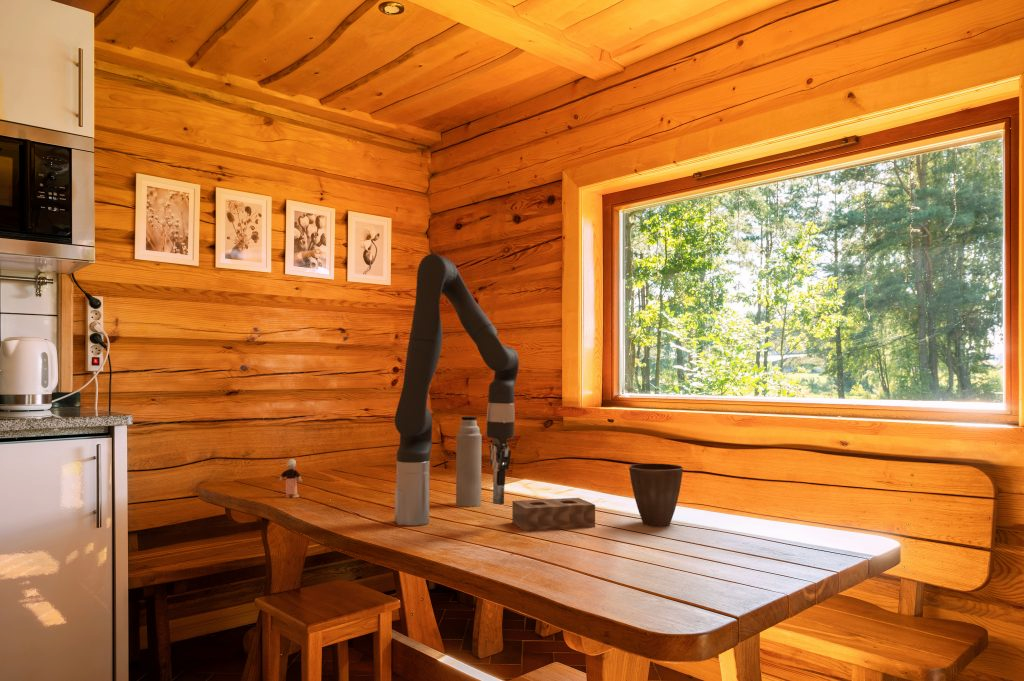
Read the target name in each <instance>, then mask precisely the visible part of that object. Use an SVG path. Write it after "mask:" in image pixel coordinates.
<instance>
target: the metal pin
mask: <svg viewBox="0 0 1024 681" xmlns="http://www.w3.org/2000/svg"><path fill="white" fill-rule="evenodd" d="M498 459H500V458H498ZM502 465H504V463H502ZM496 480H497V463H496V462H495V452H494V479H493V478H492V482H493V486H492V487H493V488H492V490H493V491H492V504H493V505H504V504H505V485H502V486H498V485H497V484H496Z"/></svg>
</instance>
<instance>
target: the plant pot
mask: <svg viewBox="0 0 1024 681" xmlns="http://www.w3.org/2000/svg"><path fill="white" fill-rule="evenodd" d="M628 470H629V477H630V484H631V488H632V492H633V496H634V500H635V504H636V507H637V510H638V513H639V517H640V518H641V521H642V523H643V525H644V526H649V527H650V526H651V527H667V526H670V525H671V523H672V519H673V516H674V514H675V510H676V507H677V504H678V502H679V501H678V500H679V496H680V492H681V485H682V481H683V480H682V479H683V472H684V466H682V465H679V464H670V463H636V464H635V463H634V464H630V465H629V466H628Z"/></svg>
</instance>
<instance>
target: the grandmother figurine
mask: <svg viewBox="0 0 1024 681" xmlns="http://www.w3.org/2000/svg"><path fill="white" fill-rule="evenodd" d="M296 464H297V462H296V460H295V459H293V458H291V459H288V460H287V461H286V463H285V466H286V467H287V470H285V471H283V472H282V473H281V474H280V477H279V479H278V480H279V482H282V481H283V479H284V478H285V498H293V499H295V498H299V497H300V494H298V487H297V486H298V485H297V484H298V483H297V482H299V483H301V482H303V479H302V478H301V474H300V473H299V471H298V470H296V469H295V468H296ZM297 480H298V481H297Z"/></svg>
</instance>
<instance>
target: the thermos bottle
mask: <svg viewBox="0 0 1024 681" xmlns="http://www.w3.org/2000/svg"><path fill="white" fill-rule="evenodd" d="M477 420H478V417H477V416H462V417H461V425H460V426H458V430H457V431H458V433H456V452H455V453H456V456H455V457H456V459H455V460H456V464H455V465H456V466H455V468H456V470H455V471H456V472H455V474H456V478H455V482H456V484H455V506H457V505H458V506H457V507H461V506H470V507H469V508H473V507H472V506H476V507H479V505H480V506H482V437H483V436H482V433H480V430H481V429H480V427H479V426H478V425H477V424H478V421H477Z"/></svg>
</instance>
